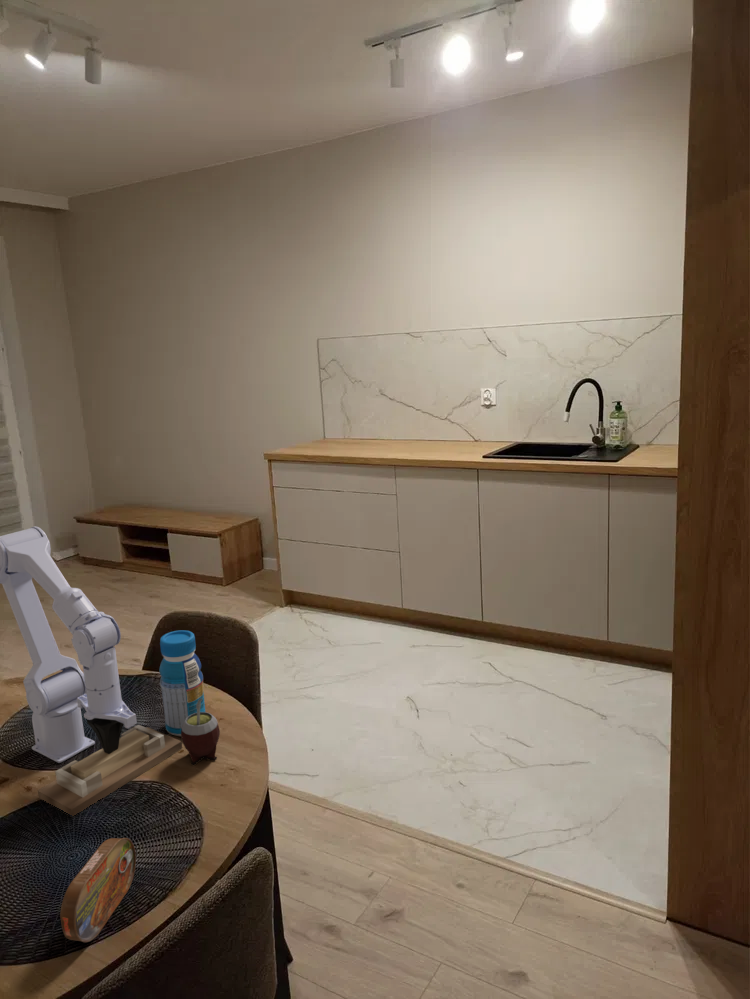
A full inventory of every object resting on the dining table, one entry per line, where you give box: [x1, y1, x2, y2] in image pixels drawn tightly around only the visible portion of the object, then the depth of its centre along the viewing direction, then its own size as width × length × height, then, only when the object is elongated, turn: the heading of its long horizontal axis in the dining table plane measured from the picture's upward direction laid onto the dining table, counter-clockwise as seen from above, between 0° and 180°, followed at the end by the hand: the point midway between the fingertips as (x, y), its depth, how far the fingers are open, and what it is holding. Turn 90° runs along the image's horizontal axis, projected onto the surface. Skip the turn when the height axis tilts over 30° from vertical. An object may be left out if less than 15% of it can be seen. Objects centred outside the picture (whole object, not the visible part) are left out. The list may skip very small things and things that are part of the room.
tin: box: [59, 837, 137, 943], centre depth 102 cm, size 15×3×8 cm, turn 168°
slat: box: [71, 730, 149, 780], centre depth 134 cm, size 4×14×3 cm, turn 146°
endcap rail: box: [37, 724, 183, 817], centre depth 135 cm, size 10×24×4 cm, turn 146°
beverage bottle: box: [159, 629, 206, 737], centre depth 147 cm, size 8×8×20 cm
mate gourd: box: [180, 698, 221, 766], centre depth 137 cm, size 8×8×15 cm
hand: (111, 750), depth 134 cm, fingers closed, pressing on slat
